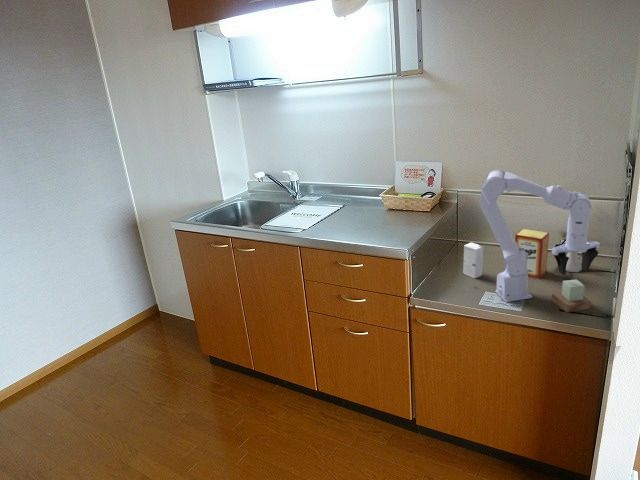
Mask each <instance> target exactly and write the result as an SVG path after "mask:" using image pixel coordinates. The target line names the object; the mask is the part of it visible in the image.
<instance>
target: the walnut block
mask: <svg viewBox="0 0 640 480" xmlns="http://www.w3.org/2000/svg"><path fill="white" fill-rule="evenodd" d="M561 293H562V291H560V292H556V293H555V292H554V293H552V294H551V301H552V302H553V303H554V304H555V305H557V306H558V307H560V309H561V310H563V311H564V312H565V313H571V312H572V313H573V312H578V311H584V310H590V309H591V308H592V300H590V299H588V298H587V297H586V296H584V295H583V300H575V301H568V300H567V299H566V298H565V297H564V296H563V295H561Z"/></svg>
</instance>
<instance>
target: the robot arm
mask: <svg viewBox="0 0 640 480" xmlns="http://www.w3.org/2000/svg"><path fill="white" fill-rule="evenodd" d="M516 190H517V191H520V192H523V193H527V194H530V195H533V196H536V197H539V198H542V200H543V201H544V203H545V204H548V205H550V206H554V207H557V208H559V209H562V210H565V211H569V213H568V215H569V217H568V218H567V229H566V239H565V243H563V244H560V245H557V246H554V247H552V248H551V253H552V255H553V256H554V258H555V260H556V263H557V267H558V272H559V273H560V274H561V275H562V276H564V275H566V273H567V271H566V265H567V262H568V259H569V257H567V256H566V255H567V253H569V252H577V253H581V257H582V258H581V259H582V260H581V268H582V271H584V272H588V271H589V269H590V267H591V264H592V263H593V261H594V260H595V258H596V257H597V256H598V255H599V251H598V250H599V249H600V248H601V247H600V245H601V243H600V242H598V241H597V240H595V241H588V234H589V233H588V232H589V226H590V225H589V224H590V213H591V212H592V210H593V208H592V204H591V200H590V198H589V196H588V195H587V194H585V193H584V192H579V191H571V190H568V189H564V188H563V186H562V185H559V184H557V186H556V185H551V186H543V185H541V184H539V183H536V182H534V181H531V180H529V179H526V178H524V177H521V176H519V175H517V174H514V173H512V172H509V171H504V170H502V169H494V170H492V171H490V172H489V173H488V175H487V177H486V178H485V179H484V183H483V185H482V187H481V192H480V198H479V203H478V205H479V207H480V209H481V211H482V213H483V215H484V217H485V218H486V219H485V220H486V221H487V223H488V225H489V226H490V229H491V231H492V233H493V234H494V236H495V239H496V241H497V242H498V244H499V246H500V248H501V250H502V255H503V259H504V260H505V264H506V265H505V270H504V271H502V272H500V273H498V274H497V276H496V290H495V293H496V294H497V295H498V296H499V297H500V298H501V299H502V300H503V301H504V302H507V303H509V302H514V301H520V300H527V299H532V298H533V295H532V294H530V292H528V283H529V276H528V269H527V259H528V255H527V253H526V252H525V251H524V250H523V249H521V247H520V246H519V244H518V243H516V241H515V237H514V235H513V233H512V231H511V230H510V227H509V225H508V224H507V221H506V219H505V218H504V215H503V214H502V212H501V210H500V207H499V206H498V204H497V200H498V198H499V197H500V196H501V195H502V194H503V193H504V192H505V191H506V193H510V192H511V193H512V192H514V191H516Z"/></svg>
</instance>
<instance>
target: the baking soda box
mask: <svg viewBox="0 0 640 480" xmlns="http://www.w3.org/2000/svg"><path fill="white" fill-rule="evenodd" d="M514 239H515V241H516V243H518V244H519V246H520V247H521V249H523V250H524V251H525V252H526V253H527V255H528V259H527V269H528V277H532V278H535V279H541V278H542V277H543V276H544V275H545V274H546V273H547V267H548V266H547V265H548V254H549V253H548V251H549V241H550V232H545V231H540V230H531V229H526V228H522V229H521V230H519V231H518V232H516V234H515V237H514Z"/></svg>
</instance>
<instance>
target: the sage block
mask: <svg viewBox="0 0 640 480" xmlns="http://www.w3.org/2000/svg"><path fill="white" fill-rule="evenodd" d="M561 285H562V287H561V292H562V293H561V295H563V296H564V297H565V298H566V299H567V300H568V301H575V300H583V296H584V293H585V287H586V286H585V284H583V283H582V282H581V281H579V280H578V279H570V280H569V279H568V280H567V279H566V280H562V284H561Z"/></svg>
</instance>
